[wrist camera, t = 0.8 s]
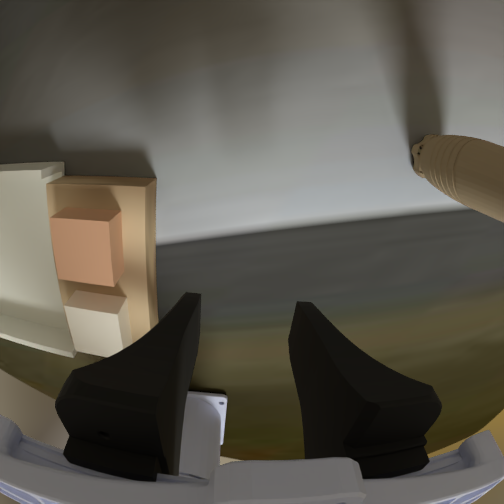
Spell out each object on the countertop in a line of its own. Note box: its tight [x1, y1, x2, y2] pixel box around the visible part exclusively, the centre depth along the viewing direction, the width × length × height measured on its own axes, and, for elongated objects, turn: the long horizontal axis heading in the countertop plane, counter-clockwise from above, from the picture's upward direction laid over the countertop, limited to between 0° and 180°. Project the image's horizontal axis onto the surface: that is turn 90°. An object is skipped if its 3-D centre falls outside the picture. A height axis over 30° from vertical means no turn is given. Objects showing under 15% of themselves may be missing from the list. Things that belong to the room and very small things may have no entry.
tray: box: [0, 162, 77, 358], centre depth 19 cm, size 15×12×3 cm
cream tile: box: [64, 290, 133, 357], centre depth 19 cm, size 4×4×2 cm
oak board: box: [46, 176, 158, 345], centre depth 20 cm, size 13×7×2 cm, turn 173°
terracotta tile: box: [50, 207, 124, 287], centre depth 17 cm, size 4×4×2 cm
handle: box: [411, 134, 504, 222], centre depth 12 cm, size 5×6×15 cm
